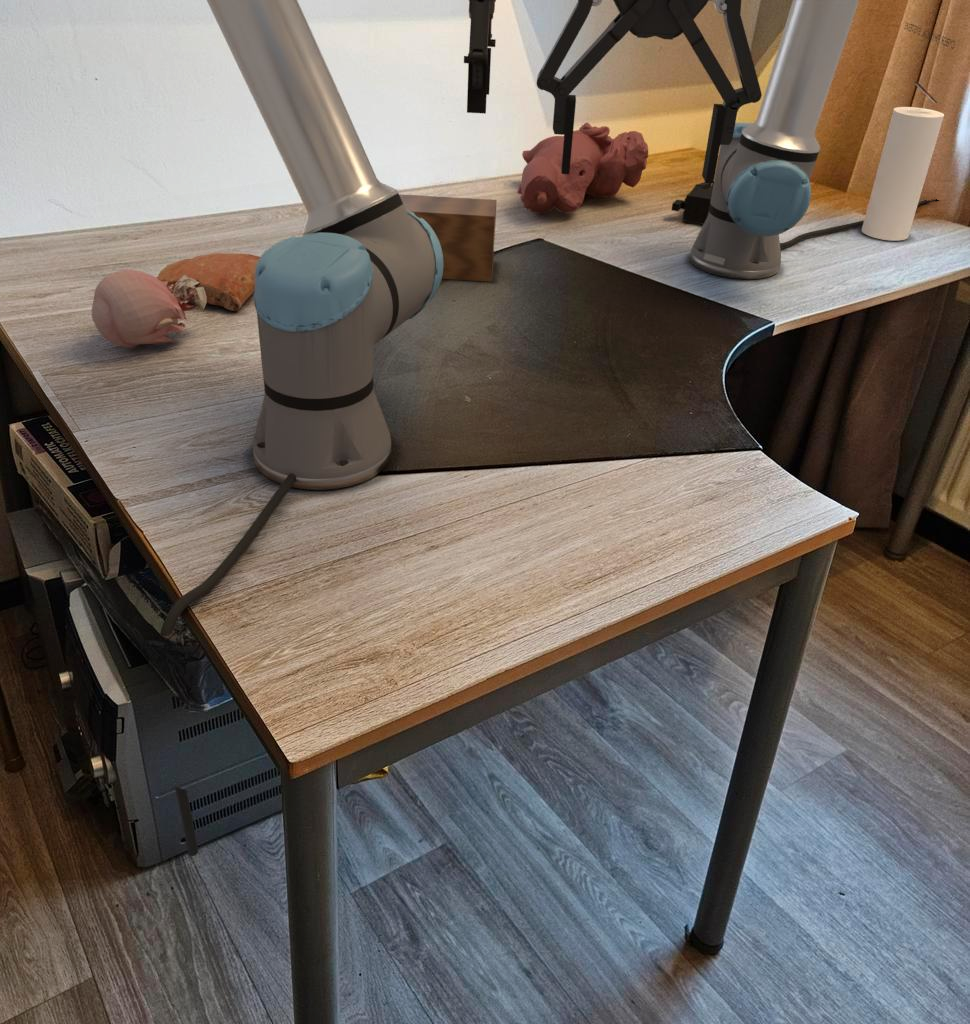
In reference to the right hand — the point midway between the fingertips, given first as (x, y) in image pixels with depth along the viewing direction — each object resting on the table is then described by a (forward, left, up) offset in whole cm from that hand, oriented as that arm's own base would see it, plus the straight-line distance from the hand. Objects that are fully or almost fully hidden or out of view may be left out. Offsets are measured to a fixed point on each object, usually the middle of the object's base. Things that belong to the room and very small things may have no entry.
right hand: (478, 103), depth 144 cm
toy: (-62, +19, -26) cm, 70 cm away
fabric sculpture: (-44, -3, -26) cm, 52 cm away
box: (+3, -6, -26) cm, 27 cm away
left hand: (+43, +44, +6) cm, 61 cm away
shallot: (+50, -21, -26) cm, 60 cm away
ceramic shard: (+32, -27, -26) cm, 49 cm away
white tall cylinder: (-66, +52, -26) cm, 88 cm away
